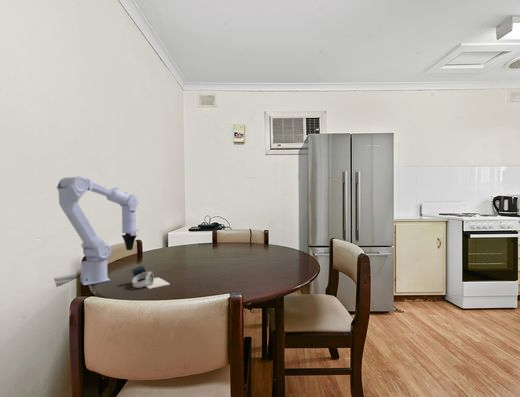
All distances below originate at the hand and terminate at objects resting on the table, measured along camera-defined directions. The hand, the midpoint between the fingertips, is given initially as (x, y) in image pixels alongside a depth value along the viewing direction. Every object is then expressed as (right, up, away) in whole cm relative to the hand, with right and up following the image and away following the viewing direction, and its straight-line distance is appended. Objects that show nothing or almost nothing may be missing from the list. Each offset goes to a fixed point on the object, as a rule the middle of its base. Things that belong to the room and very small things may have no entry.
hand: (129, 249), depth 129 cm
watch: (+11, -7, -15) cm, 20 cm away
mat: (+18, -10, -18) cm, 28 cm away
